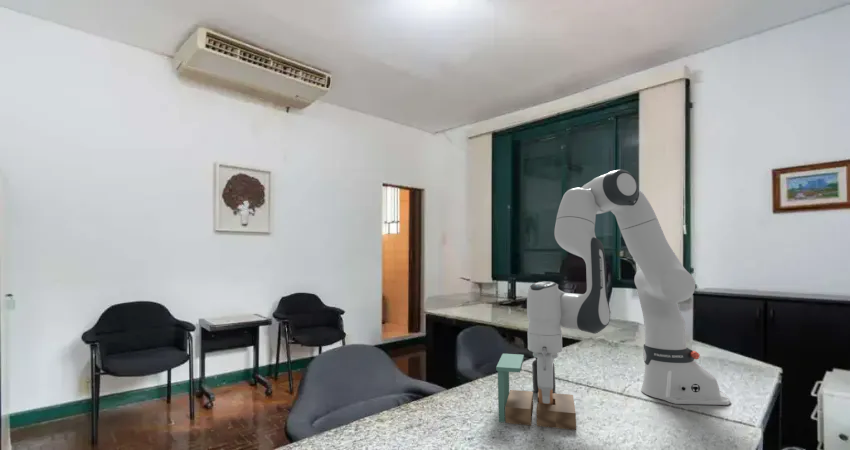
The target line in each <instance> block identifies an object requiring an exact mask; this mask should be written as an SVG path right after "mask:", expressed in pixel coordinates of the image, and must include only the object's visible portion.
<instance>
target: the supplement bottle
mask: <svg viewBox="0 0 850 450" xmlns="http://www.w3.org/2000/svg"><path fill="white" fill-rule="evenodd" d="M534 359H535V360H533V361H532V363H531V370H532V372H531V373H532V374H531V375H532V390H533V392H535V393H536V394H538V392H539V391H538V380H537V358H536V357H534ZM555 370H556V369H555V362H553V393H556V371H555Z"/></svg>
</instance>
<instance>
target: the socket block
mask: <svg viewBox="0 0 850 450" xmlns="http://www.w3.org/2000/svg"><path fill="white" fill-rule="evenodd" d="M533 411H534V391H530V390H518V389H517V390H516V389H509V396H508V399H507V403H506V406H505V423H506V424H510V425H511V424H513V425H521V426H523V425H525V426H532V421H533ZM535 411H536V412H535V413H536V414H535V415H536V427H541V426H542V427H544V428H553V429H563V430H572V431H577V416H576V415H577V414H576V405H575V399H574V395H573V394H569V393H568V394H567V393H566V394H565V393H556V392H554V393H553V405H551V404H540V403H539V392H538V393H537V403H536V409H535Z"/></svg>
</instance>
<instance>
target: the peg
mask: <svg viewBox="0 0 850 450" xmlns="http://www.w3.org/2000/svg"><path fill="white" fill-rule="evenodd" d="M538 391H539V403H540V404H547V403H543V401H542V391H541V389H539V388H538ZM549 404H551V405H553V389H552V390H550V403H549Z"/></svg>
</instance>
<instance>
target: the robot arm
mask: <svg viewBox="0 0 850 450" xmlns="http://www.w3.org/2000/svg"><path fill="white" fill-rule="evenodd" d="M608 212H611V213H612V214H613V215H614V216H615V219H616V222H617V226H618V229H619V231H620V233H621V236H622V238H623V240H624V243H625V246H626V248H627V250H628V253H629V254H630V256H631V257H632V258H633V260H634V261H635V262H636V264H637V265H638V268H639V269H638V270H637V272H635V275H634V285H635V287H636V290H637V293H638V298H639V303H640V308H641V312H642V318H643V329H644V344H643V349H642V350H643V351H642V352H643V361H644V374H643V381H642V384H641V387H640V391H641V392H642V393H643V394H644V395H647V396H650V397H652V398H655V399H659V400H663V401H666V402H669V403H671V404H674V405H675V404H676V405H710V406H711V405H714V406H716V405H717V406H718V405H719V406H720V405H722V406H725V405H726V406H729V405H730V403H731V399H730V398H729V396H728V395H727V394H726V393H724V392H723V391H721V390H720V386H719V383H718V381H717V378H716V377H715V376H714V375H713V374H712V373H711V372H709V371H708V370H707V369H706V368H704V367H703V366H702V365H700V364H699V363H698V362H696V361H695V360H699V358H701V357H700V356H701V355H700V354H699V352H697V351H696V350H693V349H692V348H691V349H690V348H688V347H687V336H686V335H687V334H686V333H687V331H686V321H685V319H684V317H683V315H682V313H681V310H680V307H679V303H681V302H684V301H687V300H689V299H690V298H691V297H693V294H694V293H695V290H696V282H695V278H694V277H693V275H692V274H691V273H690V272H689V271H688V270H687V269H686V268H685V266H683V264H682V262H681V260H680V259H679V258H678V256H677V255H676V253H675V251H674V250H673V249H672V247H671V245H670V243H669V242H668V240H667V238H666V236H665V234H664V232H663V231H664V230H663V229H662V226H661V224H660V222H659V220H658V218H657V214H656V213H655V211H654V208H653V207H652V205H651V203H650V201H649V200H648V198H647V197H646V195H645V194H644V193H643V191H641V190H640V189H639V183H638V181H637V179H636V178H635V176H634V175H633V174H632V173H630V172H629V171H628V170H626V169H616V170H615V169H614V170H611V171H609V172H607V173H604V174H601V175H600V176H599V175H598V176H597V177H594V178H593V179H592V180H590V181H589V182H587V183H585V184H583V185H581V186H580V187H574V188H570V189H567V190H566V192H565V193H564V194H563V196H562V199H561V200H560V204H559V206H558V210H557V213H556V219H555V226H554V230H553V231H554V232H553V233H554V239H555V241H556V243H557V244H558V245H559V247H560V248H561V249H563V250H565V251H566V252H568V253H570V254H572V255H574V256H577V257H579V258H582V259H583V261H584V262H585V269H586V271H585V272H586V275H585V276H586V291H585V293H570V292H565V291H563V290H561V289H559V286H558V283H556V282H554V281H545V280H543V281H538V282H534V283H532V284H530V285H529V287H528V292H527V299H526V315H527V320H528V327H527V349H528V350H529V352H532V356H533V357H534V358H535V357H536V358H537V380H538V388H539V389H541V391H542V401H543V403H547V404H549V403H550V390H552V389H553V363H555V360H554V359H557V358H558V356H559V355H558V354H559V353H561V352H563V331H562V329H561V328H565V329H570V330H578V331H582V332H584V333H585V332H586V333H590V334H593V335H594V334H598V333H600V332H602V330H604V329H605V328H606V327H607V326H608V325H609V324H610V321H611V309H610V303H609V298H608V289H607V288H608V287H607V268H606V265H607V264H606V255H605V254H606V253H605V248H604V244H603V242H602V241H601V240H600V239H598V238H597V236H596V232H595V227H596V216H598V215H600V214H605V213H608ZM536 358H535V359H536Z"/></svg>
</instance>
